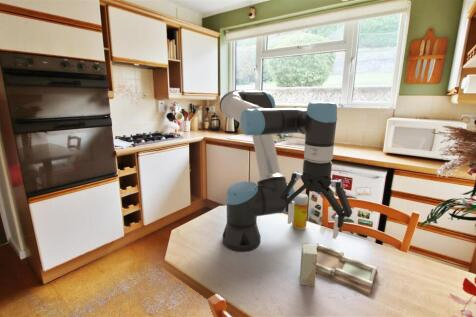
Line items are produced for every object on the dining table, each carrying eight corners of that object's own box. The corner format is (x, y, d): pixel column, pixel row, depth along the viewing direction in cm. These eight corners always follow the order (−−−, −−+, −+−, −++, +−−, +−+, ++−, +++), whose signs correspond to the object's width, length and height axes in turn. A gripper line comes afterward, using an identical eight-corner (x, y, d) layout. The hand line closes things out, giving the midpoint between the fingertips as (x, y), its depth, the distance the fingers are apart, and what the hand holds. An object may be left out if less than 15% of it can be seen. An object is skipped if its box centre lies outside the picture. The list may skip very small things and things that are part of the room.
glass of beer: (307, 230, 106) (310, 197, 102) (293, 230, 106) (295, 197, 102) (304, 223, 112) (306, 192, 108) (290, 222, 112) (292, 192, 108)
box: (314, 287, 75) (317, 255, 72) (300, 284, 76) (302, 253, 73) (313, 274, 80) (316, 245, 77) (299, 273, 81) (301, 243, 78)
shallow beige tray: (303, 267, 84) (304, 260, 83) (317, 248, 94) (317, 242, 93) (369, 295, 72) (370, 287, 71) (376, 270, 82) (377, 263, 82)
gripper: (271, 155, 72) (268, 221, 78) (365, 171, 58) (354, 250, 63) (282, 151, 78) (279, 212, 83) (370, 164, 64) (360, 237, 69)
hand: (311, 228), depth 73 cm, fingers open, 13 cm apart
